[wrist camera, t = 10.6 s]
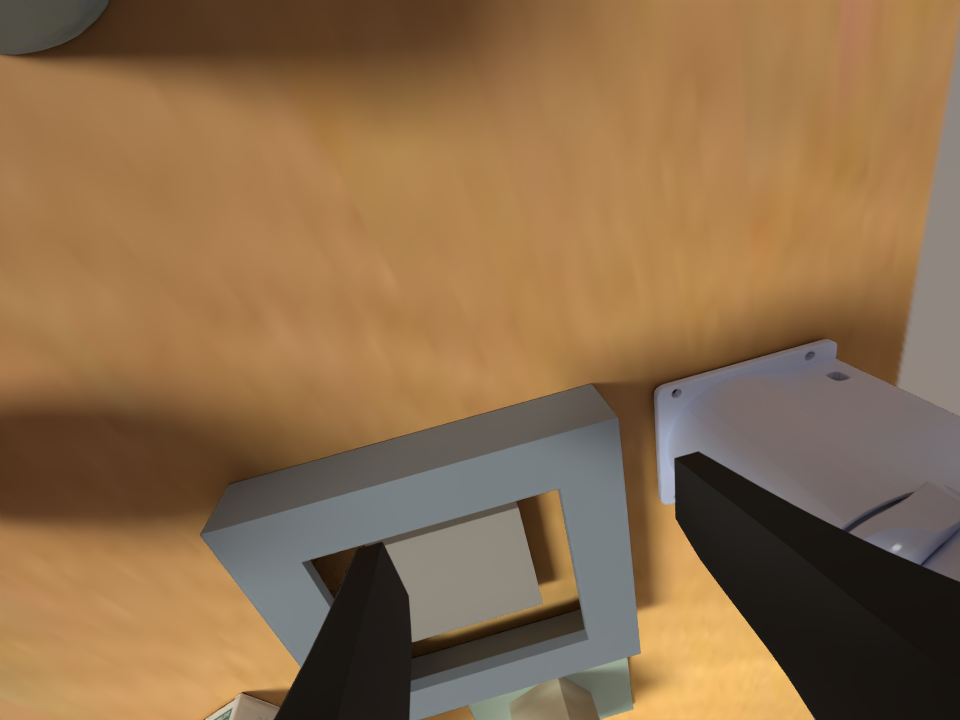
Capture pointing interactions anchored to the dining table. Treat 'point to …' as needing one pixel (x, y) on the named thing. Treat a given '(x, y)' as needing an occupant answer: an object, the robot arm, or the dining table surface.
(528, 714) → the maple block
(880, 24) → the dining table surface
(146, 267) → the dining table surface
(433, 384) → the dining table surface
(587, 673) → the zone pad
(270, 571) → the box
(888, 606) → the robot arm
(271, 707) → the syrup box
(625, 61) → the dining table surface
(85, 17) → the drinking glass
